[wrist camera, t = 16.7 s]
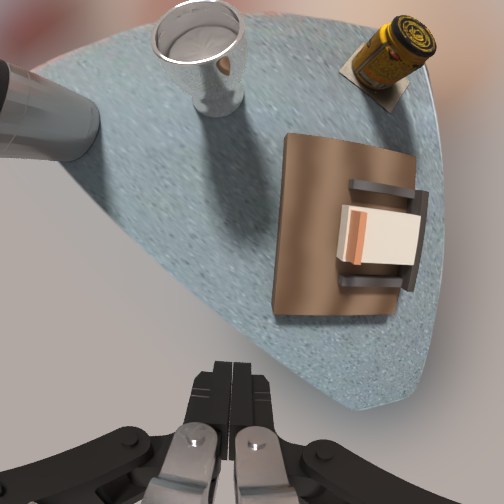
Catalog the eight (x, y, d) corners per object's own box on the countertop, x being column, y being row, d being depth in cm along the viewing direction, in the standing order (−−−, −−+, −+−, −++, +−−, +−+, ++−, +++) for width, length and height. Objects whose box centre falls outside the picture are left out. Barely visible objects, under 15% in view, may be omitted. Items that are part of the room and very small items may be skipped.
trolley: (332, 253, 29) (350, 268, 24) (338, 203, 28) (358, 207, 22) (399, 258, 29) (425, 271, 24) (406, 213, 28) (433, 218, 23)
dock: (271, 303, 33) (275, 326, 28) (284, 137, 29) (292, 126, 23) (384, 305, 34) (404, 324, 28) (403, 158, 29) (430, 154, 24)
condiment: (362, 43, 26) (401, -1, 14) (409, 82, 27) (460, 54, 15) (338, 72, 27) (376, 27, 15) (389, 114, 28) (444, 89, 17)
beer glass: (255, 77, 27) (260, 4, 13) (236, 128, 29) (228, 76, 14) (200, 65, 27) (171, -6, 12) (180, 114, 28) (131, 63, 13)
